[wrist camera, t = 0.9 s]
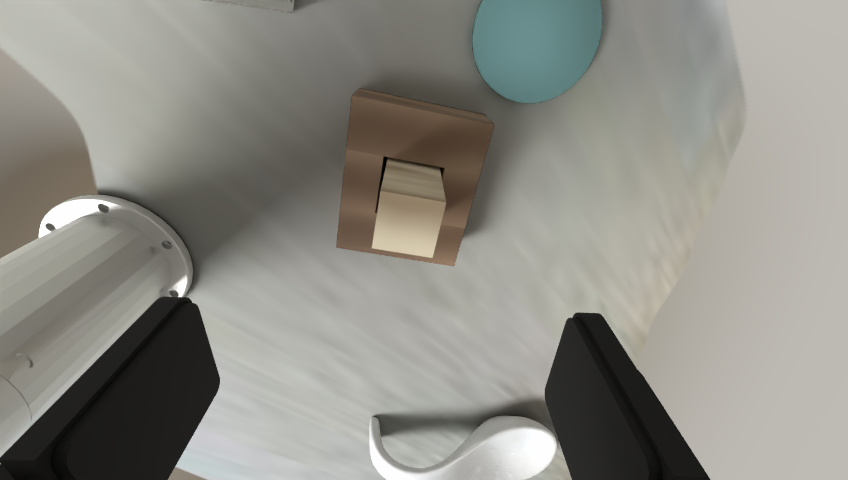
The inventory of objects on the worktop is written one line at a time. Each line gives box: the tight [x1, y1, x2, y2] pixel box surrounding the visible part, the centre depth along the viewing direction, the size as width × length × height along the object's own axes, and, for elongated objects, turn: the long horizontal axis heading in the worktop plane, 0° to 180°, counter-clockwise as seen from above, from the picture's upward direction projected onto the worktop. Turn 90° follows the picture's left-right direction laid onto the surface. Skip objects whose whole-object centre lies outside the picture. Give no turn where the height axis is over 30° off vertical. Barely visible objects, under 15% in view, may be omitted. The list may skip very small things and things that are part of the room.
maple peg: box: [372, 157, 446, 258], centre depth 28 cm, size 4×4×10 cm
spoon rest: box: [369, 416, 557, 480], centre depth 46 cm, size 24×12×7 cm, turn 86°
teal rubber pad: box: [472, 0, 603, 103], centre depth 27 cm, size 9×9×1 cm
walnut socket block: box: [336, 88, 494, 266], centre depth 30 cm, size 12×10×4 cm
